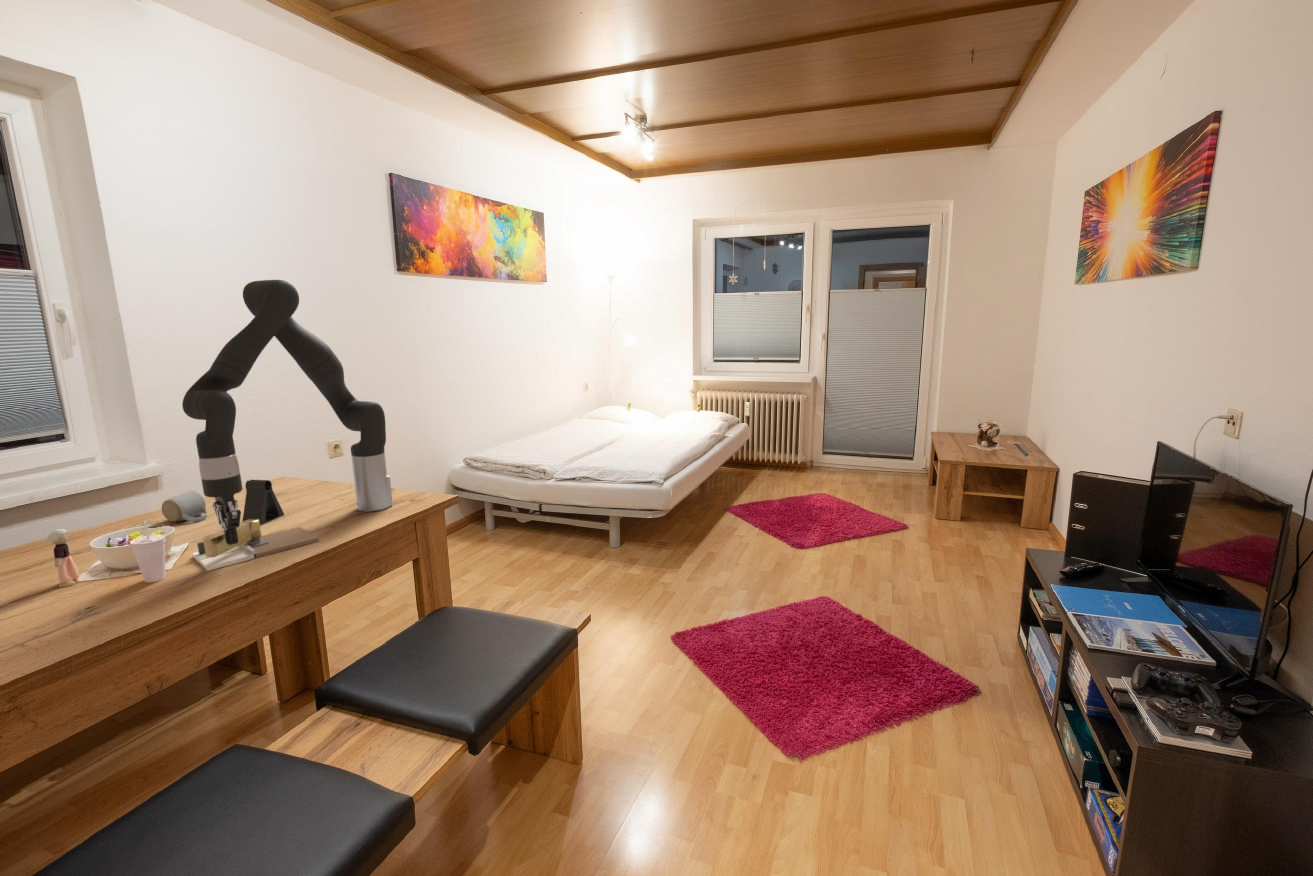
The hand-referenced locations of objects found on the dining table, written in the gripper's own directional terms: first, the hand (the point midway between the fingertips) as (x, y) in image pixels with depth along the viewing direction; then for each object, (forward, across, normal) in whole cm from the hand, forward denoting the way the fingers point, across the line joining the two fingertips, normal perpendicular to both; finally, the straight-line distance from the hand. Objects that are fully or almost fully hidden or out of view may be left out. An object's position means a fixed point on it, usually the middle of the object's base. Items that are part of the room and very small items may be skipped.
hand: (232, 543), depth 145 cm
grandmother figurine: (+5, +17, +28) cm, 33 cm away
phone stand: (+5, +30, -15) cm, 35 cm away
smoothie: (+5, +4, +15) cm, 16 cm away
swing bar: (+2, +4, -2) cm, 5 cm away
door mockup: (+5, +6, -7) cm, 10 cm away
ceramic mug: (+5, +49, -2) cm, 49 cm away
